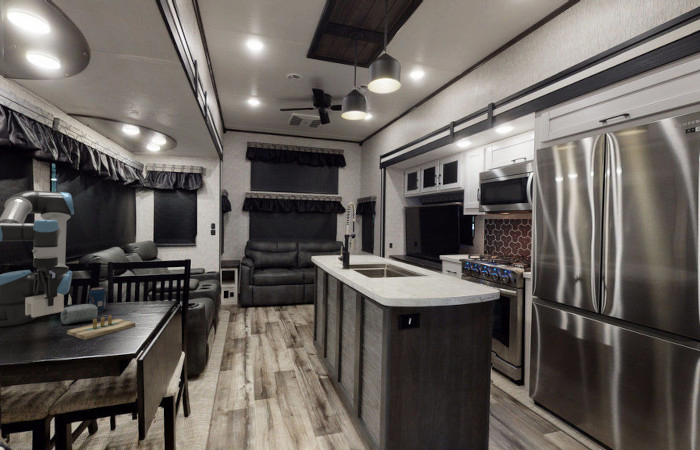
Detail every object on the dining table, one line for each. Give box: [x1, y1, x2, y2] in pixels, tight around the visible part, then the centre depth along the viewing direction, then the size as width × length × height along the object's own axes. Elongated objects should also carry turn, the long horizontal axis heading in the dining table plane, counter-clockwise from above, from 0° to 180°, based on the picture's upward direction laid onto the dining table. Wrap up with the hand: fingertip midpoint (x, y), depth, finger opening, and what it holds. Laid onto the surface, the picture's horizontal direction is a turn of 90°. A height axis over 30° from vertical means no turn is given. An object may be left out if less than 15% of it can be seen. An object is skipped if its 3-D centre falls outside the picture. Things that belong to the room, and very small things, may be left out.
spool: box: [60, 303, 99, 325], centre depth 156 cm, size 14×10×10 cm
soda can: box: [88, 286, 107, 313], centre depth 174 cm, size 7×7×12 cm
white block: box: [25, 293, 65, 318], centre depth 136 cm, size 6×10×7 cm, turn 155°
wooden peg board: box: [66, 315, 136, 341], centre depth 146 cm, size 14×20×6 cm
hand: (44, 312), depth 136 cm, fingers closed on white block, 6 cm apart
